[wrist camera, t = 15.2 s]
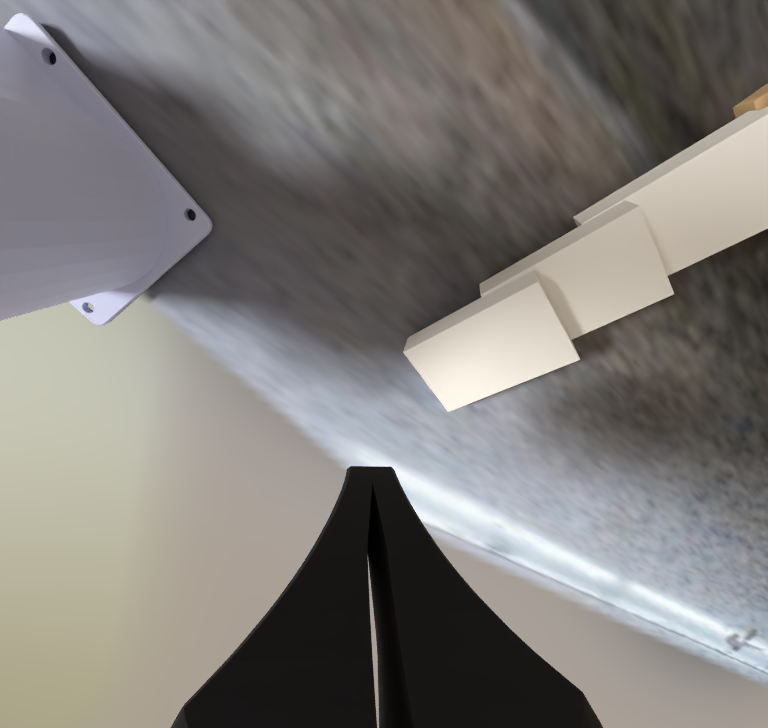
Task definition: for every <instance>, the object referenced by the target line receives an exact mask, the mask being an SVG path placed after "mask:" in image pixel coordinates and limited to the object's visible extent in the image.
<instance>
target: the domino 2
mask: <svg viewBox="0 0 768 728" xmlns="http://www.w3.org/2000/svg"><path fill="white" fill-rule="evenodd" d="M531 270H534V272H535V274H536V276H537V278H538V279H539V281H540V283H541V285H542V287H543V289H544V290H545V292H546V294H547V296H548V298H549V300H550V302H551V303H552V305H553V307H554V309H555V311H556V313H557V314H558V316H559V318H560V320H561V322H562V324H563V326H564V327H565V329H566V331H567V333H568V335H569V337H570V338H571V340H572V339H574V338H577V337H579V336H581V335H583V334H586V333H588V332H590V331H592V330H595V329H597V328H599V327H601V326H604V325H606V324H608V323H610V322H613V321H615V320H617V319H619V318H622V317H624V316H626V315H628V314H631V313H633V312H635V311H637V310H640V309H642V308H644V307H646V306H649V305H651V304H653V303H656V302H658V301H660V300H662V299H665V298H667V297H669V296H671V295H674V292H673V289H672V287H671V284H670V282H669V279H668V277H667V274H666V271H665V269H664V266H663V264H662V261H661V259H660V256H659V254H658V251H657V249H656V246H655V243H654V241H653V238H652V236H651V233H650V231H649V228H648V226H647V223H646V221H645V218H644V215H643V213H642V210H641V208H640V206H639V205H637V204H634V203H632V202H629V201H626V200H624V201H622V202H620V203H619V204H617V205H615V206H613V207H612V208H610V209H608V210H606V211H605V212H603V213H601V214H600V215H598V216H596V217H594V218H593V219H591V220H589V221H587V222H586V223H584V224H582V225H580V226H579V227H577V228H575V229H574V230H572V231H570V232H568V233H567V234H565V235H563V236H561V237H560V238H558V239H556V240H555V241H553V242H551V243H549V244H548V245H546V246H544V247H542V248H541V249H539V250H537V251H536V252H534V253H532V254H530V255H529V256H527V257H525V258H523V259H522V260H520V261H518V262H516V263H515V264H513V265H511V266H510V267H508V268H506V269H504V270H503V271H501V272H499V273H497V274H496V275H494V276H492V277H491V278H489V279H487V280H485V281H484V282H482V283H480V284H479V285H480V295H481V297H483V296H485V295H487V294H489V293H490V292H492V291H494V290H496V289H498V288H500V287H501V286H503V285H505V284H507V283H509V282H511V281H512V280H514V279H516V278H518V277H520V276H522V275H523V274H525V273H527V272H529V271H531Z"/></svg>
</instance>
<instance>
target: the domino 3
mask: <svg viewBox="0 0 768 728" xmlns="http://www.w3.org/2000/svg"><path fill="white" fill-rule="evenodd" d="M624 200H626V201H629V202H632V203H634V204H637V205H639V206H640V208H641V210H642V213H643V215H644V218H645V221H646V223H647V226H648V228H649V231H650V233H651V236H652V238H653V241H654V243H655V246H656V249H657V251H658V254H659V256H660V259H661V261H662V264H663V266H664V269H665V271H666V274H667V276H669V275H671V274H673V273H675V272H677V271H679V270H681V269H683V268H685V267H688V266H690V265H692V264H694V263H696V262H698V261H700V260H702V259H704V258H707V257H709V256H711V255H713V254H715V253H717V252H719V251H721V250H723V249H726V248H728V247H730V246H732V245H734V244H736V243H738V242H740V241H742V240H745V239H747V238H749V237H751V236H753V235H755V234H757V233H759V232H761V231H764V230H766V229H768V109H767V110H755V111H748V112H746V113H745V114H743V115H741V116H740V117H738V118H736V119H735V120H733V121H731V122H730V123H728V124H726V125H725V126H723V127H721V128H720V129H718V130H716V131H715V132H713V133H711V134H710V135H708V136H706V137H705V138H703V139H701V140H700V141H698V142H697V143H695V144H693V145H692V146H690V147H688V148H687V149H685V150H683V151H682V152H680V153H678V154H677V155H675V156H673V157H672V158H670V159H668V160H667V161H665V162H663V163H662V164H660V165H658V166H657V167H655V168H653V169H652V170H650V171H649V172H647V173H645V174H644V175H642V176H640V177H639V178H637V179H635V180H634V181H632V182H630V183H629V184H627V185H625V186H624V187H622V188H620V189H619V190H617V191H615V192H614V193H612V194H610V195H609V196H607V197H605V198H604V199H602V200H600V201H599V202H597V203H596V204H594V205H592V206H591V207H589V208H587V209H586V210H584V211H582V212H581V213H579V214H577V215H576V216H574V217H573V219H574V221H575V223H576V225H577V227H579V226H580V225H582V224H584V223H586V222H587V221H589V220H591V219H593V218H594V217H596V216H598V215H600V214H601V213H603V212H605V211H606V210H608V209H610V208H612V207H613V206H615V205H617V204H619V203H620V202H622V201H624Z"/></svg>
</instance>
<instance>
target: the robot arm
mask: <svg viewBox="0 0 768 728" xmlns="http://www.w3.org/2000/svg"><path fill="white" fill-rule="evenodd" d="M52 53H54V54H55V55H56V63H55V64H53V65H52V64H51V62H50V58H49V57H50V55H51V54H52ZM190 209H192V210H193V211H194V212H195V214H196V218H195V220H193V221H192V220H191V219H189V217H188V211H189V210H190ZM212 227H213V225H212V221H211V220H210V218H209V217H208V216H207V214H206V213H205V212H204V211H203V210H202V209H201V208H200V206H199V205H198V204H197V203H196V202H195V201H194V199H193V198H192V197H191V196H190V195H189V194H188V193H187V191H186V190H185V189H184V188H183V187H182V186H181V185H180V183H179V182H178V181H177V180H176V179H175V178H174V177H173V175H172V174H171V173H170V172H169V171H168V170H167V169H166V167H165V166H164V165H163V164H162V163H161V162H160V161H159V159H158V158H157V157H156V156H155V155H154V154H153V152H152V151H151V150H150V149H149V148H148V147H147V146H146V144H145V143H144V142H143V141H142V140H141V139H140V138H139V136H138V135H137V134H136V133H135V132H134V131H133V130H132V128H131V127H130V126H129V125H128V124H127V123H126V122H125V120H124V119H123V118H122V117H121V116H120V115H119V114H118V112H117V111H116V110H115V109H114V108H113V107H112V106H111V104H110V103H109V102H108V101H107V100H106V99H105V97H104V96H103V95H102V94H101V93H100V92H99V91H98V89H97V88H96V87H95V86H94V85H93V84H92V83H91V81H90V80H89V79H88V78H87V77H86V76H85V75H84V73H83V72H82V71H81V70H80V69H79V68H78V67H77V65H76V64H75V63H74V62H73V61H72V60H71V59H70V57H69V56H68V55H67V54H66V53H65V52H64V50H63V49H62V48H61V47H60V46H59V45H58V44H57V42H56V41H55V40H54V39H53V38H52V37H51V36H50V34H49V33H48V32H47V31H46V30H45V29H44V28H43V26H42V25H41V24H40V23H39V22H37V21H36V20H35V19H33V18H32V17H30V16H28V15H26V14H23V13H17V14H16V15H14V16H13V17H12V18H11V20H10V21H9V22H8V23H7V24H6V26H5V27H4V28H2V27H0V321H1V320H4V319H8V318H11V317H15V316H19V315H22V314H26V313H30V312H33V311H37V310H40V309H44V308H48V307H51V306H55V305H58V304H61V303H65V302H69V303H71V304H72V305H73V306H74V307H75V308H76V309H77V310H78V311H80V312H81V313H82V314H83V315H84V316H85V317H86V318H88V319H89V320H90V321H91V322H92V323H94V324H96V325H105V324H107V323H109V322H111V321H112V320H113V319H114V318H115V317H116V316H117V315H118V314H120V313H121V312H122V311H123V310H124V309H125V308H126V307H128V305H130V304H131V303H132V302H133V301H134V300H135V299H137V298H138V297H139V296H140V295H141V294H142V293H143V292H144V291H146V290H147V289H148V288H149V287H150V286H151V285H152V284H153V283H155V282H156V281H157V280H158V279H159V278H160V277H161V276H162V275H164V274H165V273H166V272H167V271H168V270H169V269H170V268H171V267H173V266H174V265H175V264H176V263H177V262H178V261H179V260H180V259H182V258H183V257H184V256H185V255H186V254H187V253H188V252H189V251H191V250H192V249H193V248H194V247H195V246H196V245H197V244H198V243H200V242H201V241H202V240H203V239H204V238H205V237H206V236H207V235H209V234H210V232H211V231H212ZM88 303H90V304H92V305H93V307H94V311H92V310H91V309H90V308H89V307H88ZM367 558H368V560H369V568H370V569H369V570H370V578H371V589H372V599H373V608H374V618H375V628H376V639H377V654H378V688H379V689H378V690H379V691H378V692H379V728H603V727H602V725H601V723H600V721H599V720H598V718H597V716H596V714H595V713H594V711H593V709H592V708H591V706H590V704H589V702H588V701H587V699H586V697H585V696H584V694H583V692H582V691H580V690H579V689H578V688H577V687H576V686H575V685H573V684H572V683H571V682H570V681H569V680H567V679H566V678H565V677H564V676H562V675H561V674H560V673H559V672H558V671H556V670H555V669H554V668H553V667H551V665H549V664H548V663H547V662H546V661H545V660H543V659H542V658H541V657H540V656H539V655H538V654H536V653H535V652H534V651H533V650H532V649H531V648H530V647H529V646H528V645H527V644H525V642H523V641H522V640H521V639H520V638H519V637H518V636H517V635H516V634H515V633H514V632H513V631H512V630H511V629H510V628H509V627H508V626H507V625H506V624H505V623H504V622H503V621H502V620H501V619H500V618H499V617H498V616H497V615H496V614H495V613H494V612H493V611H492V610H491V609H490V608H489V607H488V606H487V605H486V604H485V603H484V601H483V600H482V599H480V598H479V596H478V595H477V594H476V593H475V592H474V591H473V590H472V588H471V587H470V586H469V585H468V584H467V583H466V582H465V580H464V579H463V578H462V577H461V576H460V575H459V573H458V572H457V571H456V569H455V568H454V567H453V566H452V564H451V563H450V562H449V561H448V559H447V558H446V557H445V556H444V554H443V553H442V551H441V550H440V549H439V547H438V546H437V544H436V543H435V542H434V540H433V539H432V537H431V536H430V534H429V533H428V531H427V530H426V528H425V527H424V525H423V524H422V522H421V520H420V519H419V517H418V515H417V514H416V512H415V510H414V509H413V507H412V505H411V504H410V502H409V500H408V498H407V496H406V494H405V493H404V491H403V489H402V487H401V485H400V482H399V480H398V478H397V476H396V473H395V471H394V469H393V468H392V467H363V466H351V467H349V468H348V469H347V472H346V477H345V481H344V484H343V487H342V490H341V493H340V495H339V497H338V500H337V502H336V504H335V506H334V508H333V511H332V513H331V515H330V517H329V519H328V521H327V523H326V525H325V527H324V528H323V530H322V532H321V534H320V536H319V537H318V539H317V541H316V543H315V545H314V546H313V548H312V550H311V551H310V553H309V554H308V556H307V558H306V559H305V561H304V562H303V564H302V566H301V567H300V568H299V570H298V571H297V573H296V574H295V576H294V577H293V579H292V580H291V581H290V583H289V584H288V586H287V587H286V588H285V590H284V591H283V592H282V594H281V595H280V597H279V598H278V599H277V601H276V602H275V603H274V605H273V606H272V607H271V608H270V610H269V611H268V612H267V614H266V615H265V616H264V617H263V618H262V620H261V621H260V622H259V623H258V625H256V627H255V628H254V629H253V630H252V631H251V633H250V634H249V635H248V636H247V637H246V639H245V640H244V641H243V642H242V643H241V644H240V646H239V647H238V648H237V649H236V650H235V651H234V653H233V654H232V655H231V656H230V657H229V658H228V659H227V661H225V663H224V664H223V665H222V666H221V667H220V668H219V669H218V670H217V671H216V672H215V673H214V674H213V675H212V676H211V677H210V678H209V679H208V680H207V681H206V683H205V684H204V685H203V686H202V687H201V688H200V689H199V690H198V691H197V692H196V693H195V694H194V695H193V696H192V697H191V698H190V699H189V700H188V701H187V702H186V703H185V705H184V706H183V707H182V709H181V711H180V712H179V714H178V716H177V717H176V719H175V721H174V723H173V725H172V727H171V728H377V721H376V707H375V692H374V676H373V661H372V643H371V625H370V607H369V606H370V605H369V584H368V560H367Z"/></svg>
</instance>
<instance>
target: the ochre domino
mask: <svg viewBox="0 0 768 728" xmlns="http://www.w3.org/2000/svg"><path fill="white" fill-rule="evenodd" d="M767 106H768V83H767V84H766V85H765V86H763V87H762V88H760V89H759V90H757V91H756V92H755V93H753V94H752V95H750V96H749V97H747V98H746V99H745V100H743V101H742V102H740V103H739V104H738V105H736V106H735V107H733V111H734V114H735V118H738V117H740V116H741V115H743V114H745V113H746V112H748V111H755V110H762V109H764V108H766V107H767Z"/></svg>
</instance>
